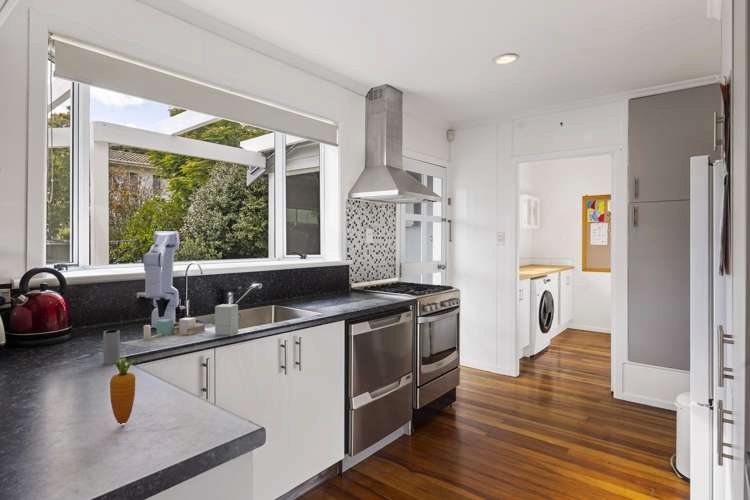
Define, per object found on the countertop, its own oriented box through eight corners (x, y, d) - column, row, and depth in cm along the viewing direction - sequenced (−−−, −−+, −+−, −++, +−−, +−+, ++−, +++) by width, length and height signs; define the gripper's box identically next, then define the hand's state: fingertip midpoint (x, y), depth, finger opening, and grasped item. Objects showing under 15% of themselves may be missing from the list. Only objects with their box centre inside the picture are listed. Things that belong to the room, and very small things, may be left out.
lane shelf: (158, 334, 178) (158, 326, 178) (175, 329, 188) (175, 322, 188) (189, 336, 174) (189, 328, 174) (204, 331, 184) (204, 324, 184)
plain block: (179, 333, 178) (179, 319, 178) (186, 331, 182) (186, 317, 182) (188, 334, 177) (188, 320, 176) (195, 332, 181) (195, 318, 181)
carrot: (116, 421, 93) (116, 354, 93) (140, 421, 93) (140, 354, 93) (104, 431, 88) (104, 360, 88) (129, 431, 88) (129, 360, 88)
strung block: (140, 341, 166) (139, 326, 166) (164, 332, 179) (164, 318, 178) (149, 341, 165) (149, 326, 165) (173, 333, 178) (173, 319, 177)
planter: (123, 361, 138) (123, 330, 138) (110, 365, 134) (110, 333, 134) (113, 360, 140) (113, 329, 140) (100, 363, 136) (100, 332, 135)
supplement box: (238, 332, 183) (238, 304, 183) (231, 336, 176) (231, 306, 175) (222, 332, 184) (222, 303, 183) (214, 336, 176) (214, 306, 176)
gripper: (130, 282, 167) (130, 316, 167) (161, 284, 163) (161, 319, 163) (144, 281, 174) (144, 313, 174) (174, 282, 170) (174, 315, 170)
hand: (153, 316), depth 169 cm, fingers open, 7 cm apart
